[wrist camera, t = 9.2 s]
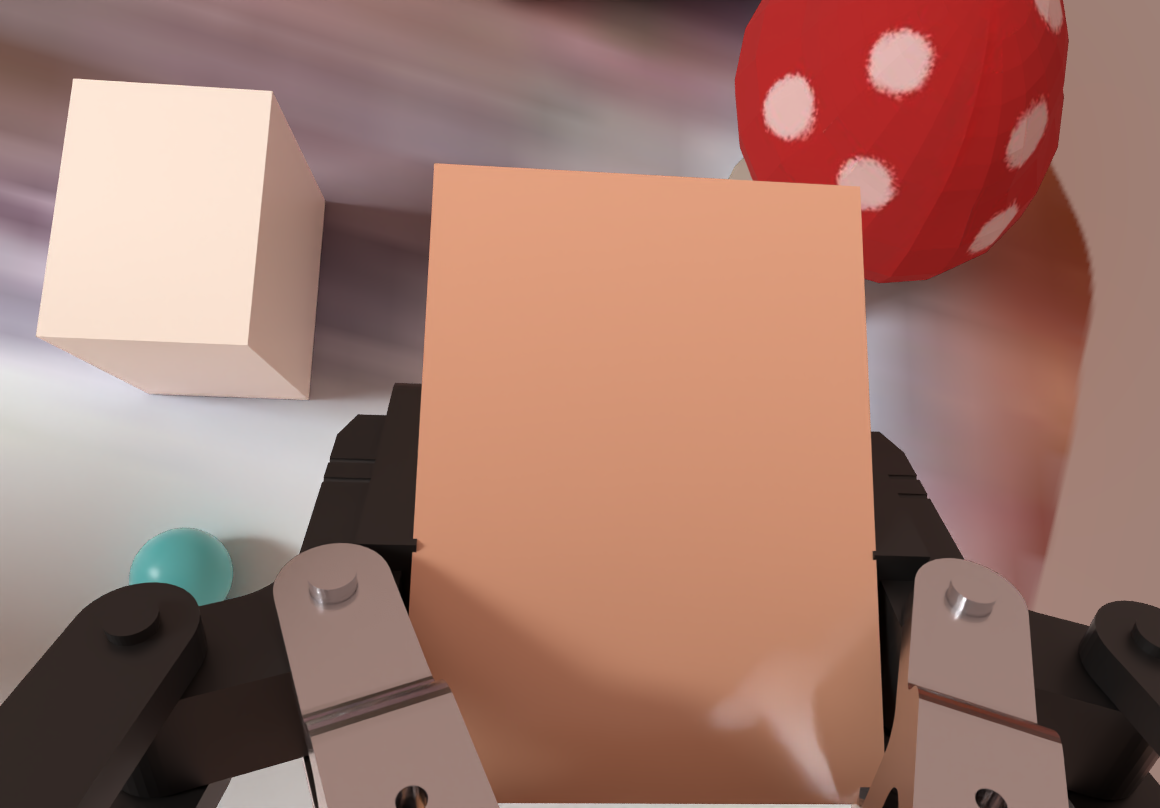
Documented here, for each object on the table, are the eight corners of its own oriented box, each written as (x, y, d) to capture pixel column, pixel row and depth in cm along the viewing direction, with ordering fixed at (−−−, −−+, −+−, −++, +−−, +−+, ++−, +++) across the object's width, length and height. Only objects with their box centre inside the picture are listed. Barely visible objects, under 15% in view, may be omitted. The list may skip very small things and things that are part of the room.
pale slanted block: (308, 399, 31) (247, 345, 24) (148, 393, 31) (36, 336, 23) (325, 201, 32) (272, 91, 25) (172, 192, 32) (73, 78, 25)
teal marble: (131, 579, 29) (90, 579, 26) (199, 511, 30) (166, 504, 27) (197, 641, 29) (162, 648, 26) (263, 571, 30) (237, 570, 27)
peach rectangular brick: (726, 708, 17) (887, 804, 10) (446, 705, 17) (397, 803, 10) (723, 340, 19) (859, 185, 11) (464, 329, 18) (434, 163, 11)
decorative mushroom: (888, 379, 33) (1196, 220, 18) (658, 355, 32) (784, 172, 18) (892, 132, 35) (1173, -191, 20) (675, 105, 34) (802, -246, 20)
